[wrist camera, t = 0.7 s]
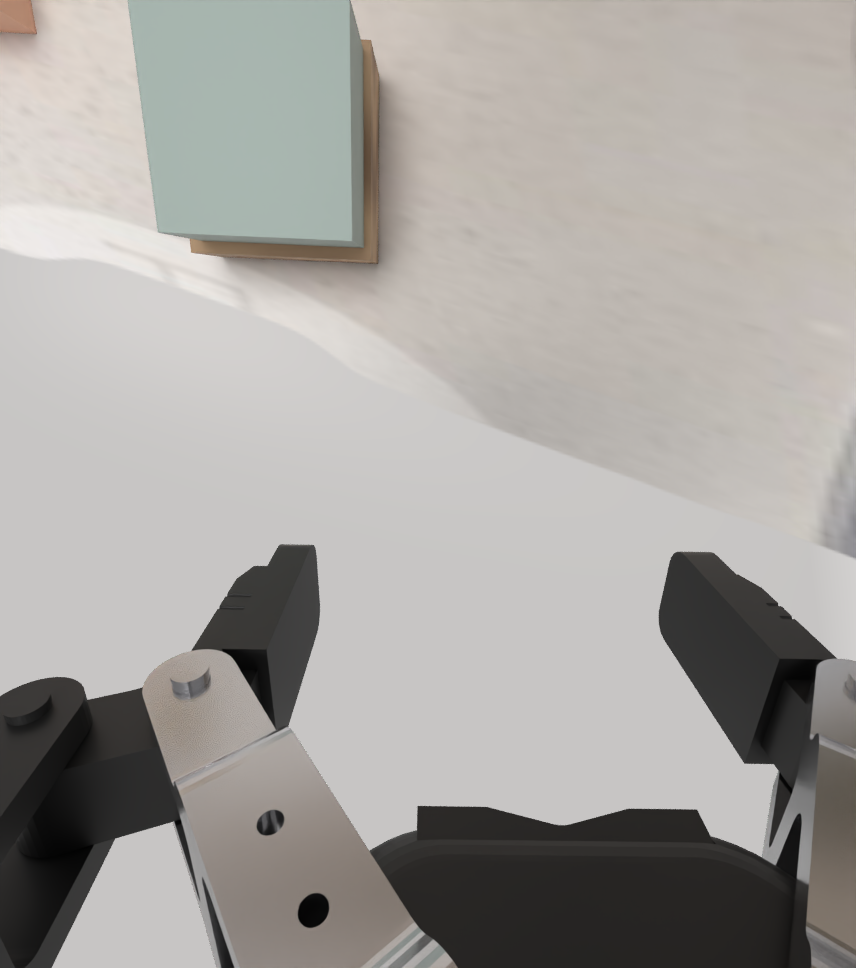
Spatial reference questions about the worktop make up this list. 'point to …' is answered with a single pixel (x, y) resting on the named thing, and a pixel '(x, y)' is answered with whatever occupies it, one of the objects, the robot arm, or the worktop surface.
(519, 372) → the worktop surface
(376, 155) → the tower base
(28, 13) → the terracotta cube
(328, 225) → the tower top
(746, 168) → the worktop surface
